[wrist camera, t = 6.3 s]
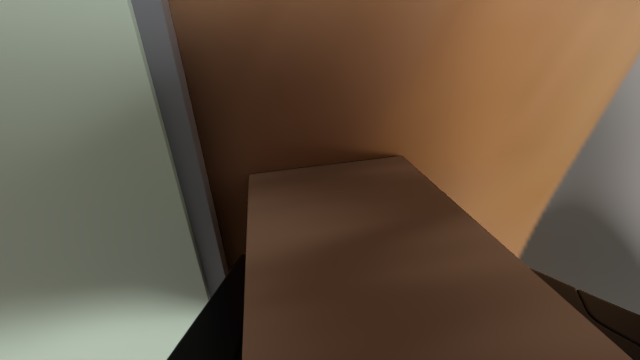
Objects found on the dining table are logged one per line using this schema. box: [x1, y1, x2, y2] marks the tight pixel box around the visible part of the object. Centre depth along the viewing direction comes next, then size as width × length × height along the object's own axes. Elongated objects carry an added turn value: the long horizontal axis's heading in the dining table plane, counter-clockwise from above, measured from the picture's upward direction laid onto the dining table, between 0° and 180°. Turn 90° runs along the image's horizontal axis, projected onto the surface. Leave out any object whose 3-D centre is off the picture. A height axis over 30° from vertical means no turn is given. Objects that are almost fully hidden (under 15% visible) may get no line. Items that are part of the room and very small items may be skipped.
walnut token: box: [242, 156, 633, 360], centre depth 7 cm, size 4×4×6 cm
